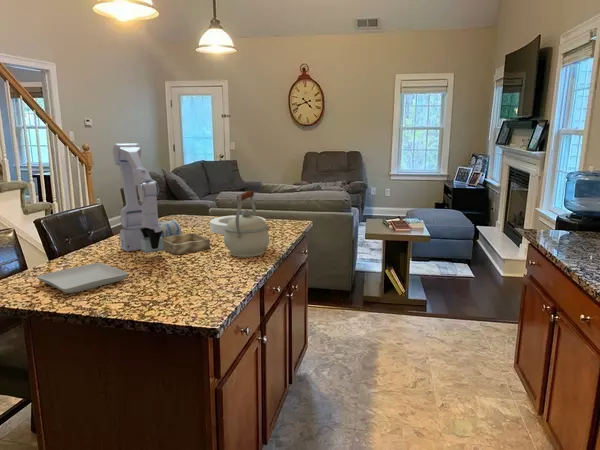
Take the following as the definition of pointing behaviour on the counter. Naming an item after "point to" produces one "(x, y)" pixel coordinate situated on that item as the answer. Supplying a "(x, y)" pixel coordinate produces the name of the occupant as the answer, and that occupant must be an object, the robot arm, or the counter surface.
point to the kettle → (246, 231)
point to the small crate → (147, 245)
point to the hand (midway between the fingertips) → (152, 246)
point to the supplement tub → (170, 228)
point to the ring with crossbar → (222, 223)
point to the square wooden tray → (185, 243)
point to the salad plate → (83, 277)
